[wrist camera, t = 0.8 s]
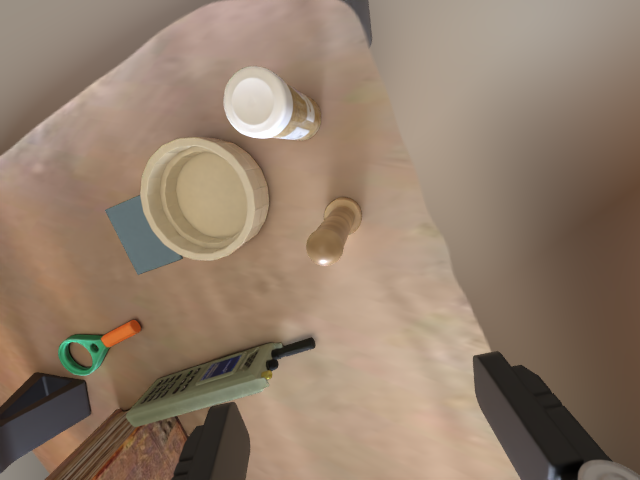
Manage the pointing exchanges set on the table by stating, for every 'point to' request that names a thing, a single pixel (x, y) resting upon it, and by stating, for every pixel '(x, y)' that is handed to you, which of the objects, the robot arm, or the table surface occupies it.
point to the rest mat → (139, 237)
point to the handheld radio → (212, 383)
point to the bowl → (203, 197)
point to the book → (126, 451)
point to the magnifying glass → (97, 354)
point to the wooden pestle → (334, 231)
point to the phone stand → (39, 414)
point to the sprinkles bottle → (269, 106)
